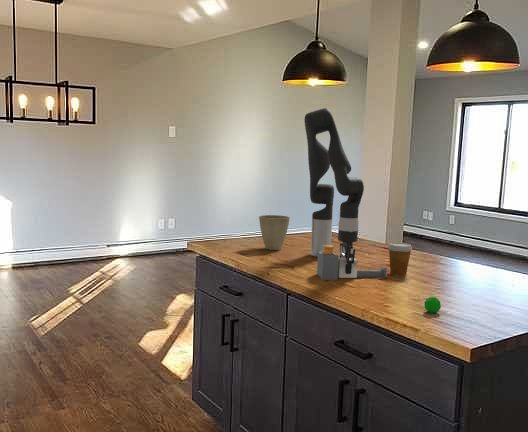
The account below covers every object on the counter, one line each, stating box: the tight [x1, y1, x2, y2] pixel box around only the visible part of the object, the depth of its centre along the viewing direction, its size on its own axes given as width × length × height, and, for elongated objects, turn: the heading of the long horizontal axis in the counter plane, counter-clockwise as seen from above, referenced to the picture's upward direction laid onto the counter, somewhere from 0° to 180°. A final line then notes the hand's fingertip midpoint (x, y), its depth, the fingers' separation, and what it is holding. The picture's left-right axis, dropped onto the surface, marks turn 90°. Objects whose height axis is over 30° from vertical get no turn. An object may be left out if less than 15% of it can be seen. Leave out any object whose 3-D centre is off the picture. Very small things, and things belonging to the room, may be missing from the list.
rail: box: [357, 265, 387, 279], centre depth 221 cm, size 3×20×4 cm, turn 97°
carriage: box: [338, 257, 358, 279], centre depth 220 cm, size 5×7×7 cm
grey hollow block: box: [316, 251, 340, 280], centre depth 219 cm, size 9×6×9 cm, turn 7°
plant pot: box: [258, 214, 291, 251], centre depth 275 cm, size 15×15×16 cm
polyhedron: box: [423, 296, 442, 314], centre depth 175 cm, size 5×5×5 cm
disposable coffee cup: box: [387, 242, 413, 276], centre depth 229 cm, size 10×10×12 cm
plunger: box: [323, 244, 335, 255], centre depth 219 cm, size 4×4×5 cm
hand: (346, 271), depth 220 cm, fingers closed on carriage, 5 cm apart
